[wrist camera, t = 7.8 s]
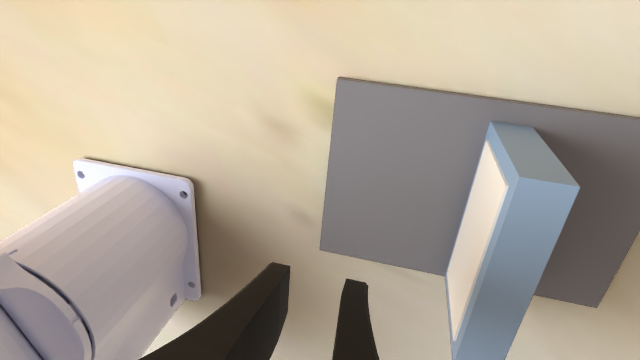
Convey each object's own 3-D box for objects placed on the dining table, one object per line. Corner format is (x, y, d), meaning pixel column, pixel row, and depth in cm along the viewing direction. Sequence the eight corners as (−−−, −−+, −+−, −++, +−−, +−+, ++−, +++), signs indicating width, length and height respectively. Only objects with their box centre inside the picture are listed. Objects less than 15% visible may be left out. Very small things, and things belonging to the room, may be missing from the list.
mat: (593, 301, 21) (596, 307, 21) (321, 245, 24) (319, 250, 23) (688, 123, 17) (695, 127, 16) (338, 76, 19) (336, 78, 19)
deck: (478, 282, 22) (497, 377, 16) (443, 275, 22) (450, 365, 17) (532, 126, 18) (580, 187, 12) (488, 120, 18) (516, 176, 13)
